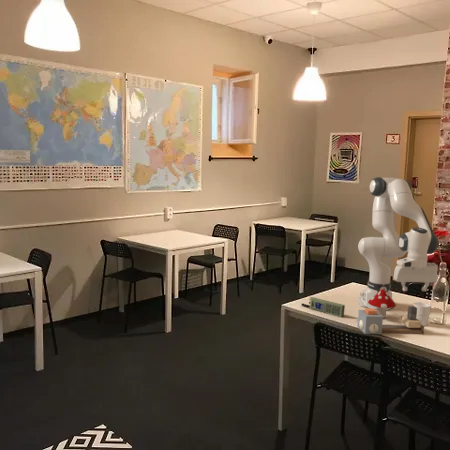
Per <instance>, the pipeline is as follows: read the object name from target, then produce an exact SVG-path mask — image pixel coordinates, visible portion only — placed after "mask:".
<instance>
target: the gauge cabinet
mask: <svg viewBox="0 0 450 450" xmlns="http://www.w3.org/2000/svg"><path fill="white" fill-rule="evenodd" d="M383 320H384V318H383V316H382V315H380V314H379V313H378V312H377V313H376V315H367V314H366V313H365V309H358V314H357V326H356V327H357V328H358V329H359V330H360V331H361V332H363V334H364V335H382V334H383V333H382V325H383V324H384V323H383V322H384V321H383Z"/></svg>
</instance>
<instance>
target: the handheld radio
mask: <svg viewBox="0 0 450 450" xmlns="http://www.w3.org/2000/svg"><path fill="white" fill-rule="evenodd" d="M308 299H309V301H308V304H305V303H301V307H306V308H309V310H311V311H316V312H318V313H322V312H323V314H327V315H330V316H334V317H338V318H342V319H343V318H344V316H345V308H346V305H345V304H342V303H337V302H334V301H330V300H326V299H321V298H318V297H313V296H309V298H308Z"/></svg>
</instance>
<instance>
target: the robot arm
mask: <svg viewBox="0 0 450 450" xmlns="http://www.w3.org/2000/svg"><path fill="white" fill-rule="evenodd" d="M368 187H369V193H370V194H371V195H372V196H374V198H373V204H372V211H371V212H372V218H371V219H372V220H371V223H372V225H371V226H372V228H373V229H374V230H375V231H377V232H379V233H381V235H382V237H379V236H367V237H362V238H361V239H360V240H359V242H358V245H357V248H358V252H359V253H360V255H361V256H363V258H364V259H365V260H366V262H367V263H368V267H369V268H368V269H369V277H368V281H367V285H366V287H365V288H364V289H362V291H361V292H360V296H359V297H357V302H358V304H359V305H360V306H361V307H363V308H373V309H375V310H377V308H378V307H375V306H372V305H370V304H369V303H368V301H369V300H370V299H371V298H372V297H373V296H375V295H376V294H377V293H378V292H379V291H380V290H382V289H383V290H385V291H386V292H387V293H388V295H389V296H390V298H392V299H393V292H392V291H391V287H392V284H391V275H392V274H391V273H392V271H391V270H392V269H391V268H390V266H389V265H387V264H386V263H384V262H382V261H381V259H382V258H387V259H397V258H398V259H397V260H396V266H395V267H394V272H393V279H394V281H395V282H397V283H400V284H401V286H402V291H403V292H408V287H407V286H406V284H407V283H424V285H423V286H422V287H421V292H427V289H428V287H429V286H430V283H436V282H437V281H438V267H439V266H438V264H436V262H428V255H431V254H434V253H435V252H436V251H438V249H439V246H440V243H439V242H440V241H439V238H438V237H437V235H436V234H435V231H434V230H433V228H432V226H431V224H430V222H429V219H428V216H427V215H426V213H425V210H424V209H423V208H422V206H420V205H419V204H418V203H417V202H416V201H415V199H414V198H413V194H412V185H411V182H410V181H408V180H406V179H403V178H396V177H380V176H379V177H377V176H376V177H374V178H372V179H371V181H370V182H369V186H368ZM394 212H395V213H396V214H397V215H399V216H402V217H405V218H408V219H411V220H413V221H414V222H416V224H417V226H418V227H412V228H411V229H410V231H408V232H403V233H401V235H398V233H397V231H396V230H395V226H394ZM406 253H407V257H404V256H405V255H406ZM403 257H404V258H403ZM399 258H401V259H399ZM385 309H386V311H388V310H391V309H392V308H385Z"/></svg>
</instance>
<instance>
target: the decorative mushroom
mask: <svg viewBox="0 0 450 450" xmlns="http://www.w3.org/2000/svg"><path fill="white" fill-rule="evenodd" d="M368 303H369V304H370V305H372V306H375V307H378V308H377V310H376V309H375V310H376V311H377V312H378V313H379V314H380V315H382V316H383V319H384V318H386V317H387V310H386V309H385V308H391V309H392V308H395V307H396V306H397V304H396V303H395V301H394V299H393V297H392V298H390V296H389V295H388V293H387V292H386V291H385V290H383V289H382V290H380V291H379V292H378V293H377V294H376V295H375V296H373V297H372V298H371V299H370V300H369V301H368Z"/></svg>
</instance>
